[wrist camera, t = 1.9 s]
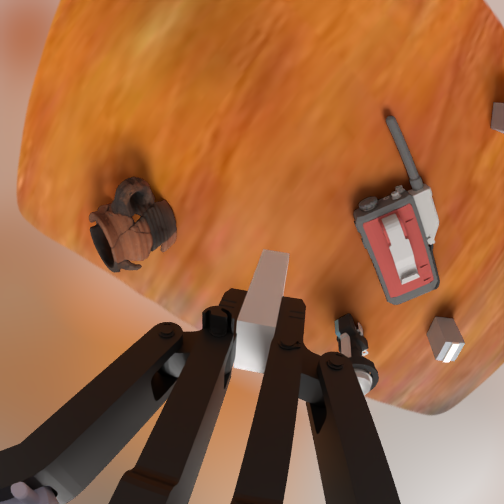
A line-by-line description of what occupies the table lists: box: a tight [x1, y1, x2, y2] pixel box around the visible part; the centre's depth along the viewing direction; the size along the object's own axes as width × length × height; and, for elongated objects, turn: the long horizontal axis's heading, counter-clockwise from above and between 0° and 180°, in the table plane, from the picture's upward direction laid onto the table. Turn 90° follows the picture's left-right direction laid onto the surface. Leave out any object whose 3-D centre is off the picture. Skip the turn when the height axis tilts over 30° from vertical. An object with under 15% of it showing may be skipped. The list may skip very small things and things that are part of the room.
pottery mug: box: [89, 177, 177, 272], centre depth 34 cm, size 12×10×8 cm
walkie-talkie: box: [353, 116, 440, 305], centre depth 29 cm, size 9×4×20 cm
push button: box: [335, 313, 379, 395], centre depth 33 cm, size 7×5×10 cm
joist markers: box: [427, 102, 504, 362], centre depth 27 cm, size 30×3×5 cm, turn 175°
